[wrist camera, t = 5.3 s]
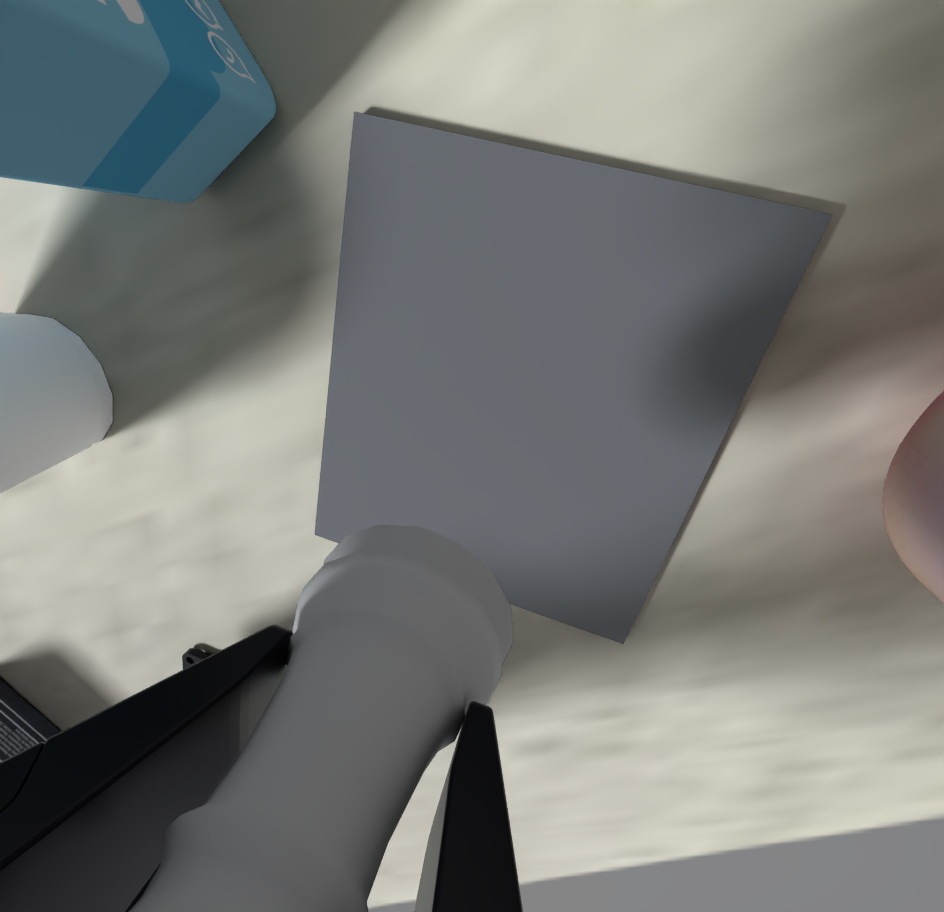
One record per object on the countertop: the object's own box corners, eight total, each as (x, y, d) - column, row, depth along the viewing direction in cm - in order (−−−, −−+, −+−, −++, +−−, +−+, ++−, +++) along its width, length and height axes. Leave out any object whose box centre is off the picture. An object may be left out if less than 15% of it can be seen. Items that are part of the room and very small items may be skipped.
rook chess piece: (330, 647, 12) (-78, 1228, 5) (328, 492, 10) (-327, 1044, 3) (502, 699, 11) (328, 1490, 4) (533, 539, 9) (317, 1444, 2)
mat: (622, 636, 20) (623, 643, 19) (319, 530, 22) (314, 534, 21) (825, 215, 13) (832, 214, 13) (360, 115, 15) (354, 111, 15)
